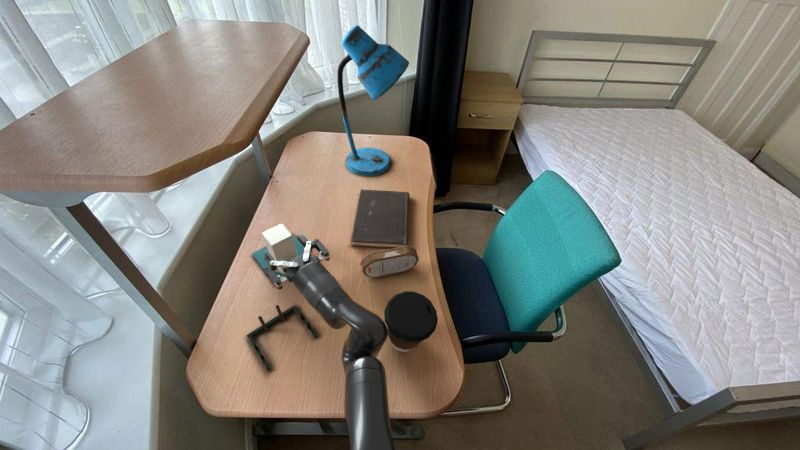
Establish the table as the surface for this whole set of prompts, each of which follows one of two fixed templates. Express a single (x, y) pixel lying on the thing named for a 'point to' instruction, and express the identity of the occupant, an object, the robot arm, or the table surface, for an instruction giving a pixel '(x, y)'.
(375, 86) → the desk lamp
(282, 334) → the table surface
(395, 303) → the coffee cup
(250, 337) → the rack
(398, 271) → the tin
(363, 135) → the table surface
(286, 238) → the container
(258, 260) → the mat
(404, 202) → the hardcover book
